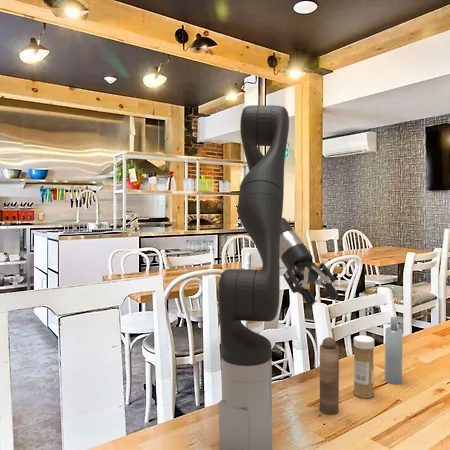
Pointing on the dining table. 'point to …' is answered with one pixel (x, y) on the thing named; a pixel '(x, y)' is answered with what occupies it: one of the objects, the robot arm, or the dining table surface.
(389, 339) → the ceramic cruet
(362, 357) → the sprinkles bottle
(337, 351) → the pepper mill
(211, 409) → the dining table surface
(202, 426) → the dining table surface
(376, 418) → the dining table surface
